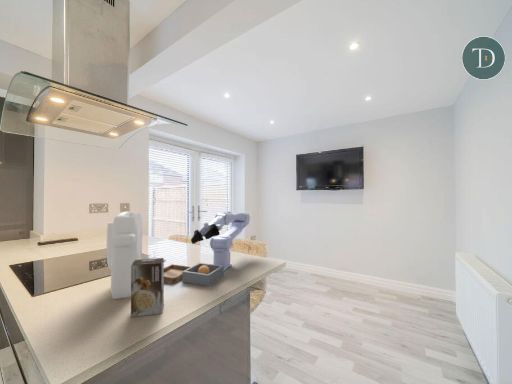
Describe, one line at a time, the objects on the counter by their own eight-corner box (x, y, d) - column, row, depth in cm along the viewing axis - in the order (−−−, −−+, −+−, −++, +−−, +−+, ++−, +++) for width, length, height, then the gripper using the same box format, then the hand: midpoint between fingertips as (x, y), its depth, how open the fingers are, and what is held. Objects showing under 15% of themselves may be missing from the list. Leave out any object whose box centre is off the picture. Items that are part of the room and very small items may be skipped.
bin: (199, 272, 109) (199, 262, 109) (223, 275, 105) (223, 265, 105) (182, 282, 97) (182, 271, 97) (208, 286, 93) (209, 275, 93)
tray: (172, 269, 113) (172, 264, 113) (194, 272, 109) (194, 267, 109) (149, 279, 99) (149, 274, 99) (173, 284, 95) (173, 278, 95)
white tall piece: (115, 278, 100) (116, 210, 101) (143, 275, 104) (144, 210, 104) (96, 307, 75) (97, 216, 75) (134, 301, 79) (135, 215, 79)
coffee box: (164, 304, 77) (165, 257, 77) (161, 314, 71) (162, 263, 71) (134, 307, 75) (135, 259, 75) (129, 318, 69) (130, 265, 69)
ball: (201, 274, 104) (202, 263, 104) (211, 275, 102) (211, 264, 102) (195, 278, 99) (195, 266, 99) (205, 279, 98) (205, 268, 98)
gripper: (199, 223, 112) (182, 235, 99) (222, 214, 106) (207, 226, 94) (205, 235, 113) (189, 249, 100) (228, 228, 107) (215, 241, 94)
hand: (198, 239), depth 97 cm, fingers open, 7 cm apart
